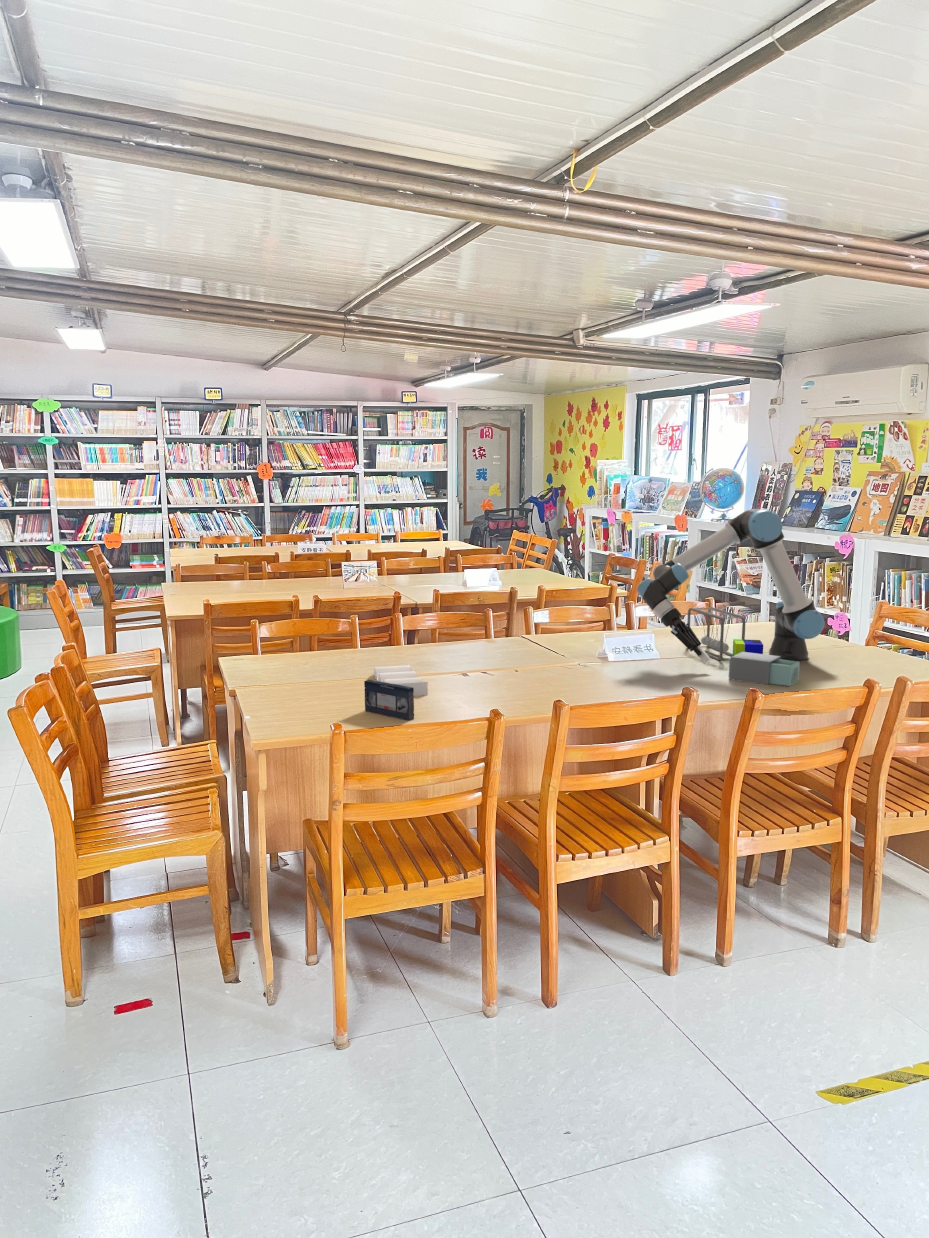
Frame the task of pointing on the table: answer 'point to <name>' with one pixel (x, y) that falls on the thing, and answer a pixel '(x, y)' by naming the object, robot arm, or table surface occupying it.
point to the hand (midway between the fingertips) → (707, 661)
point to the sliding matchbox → (782, 672)
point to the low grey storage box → (751, 667)
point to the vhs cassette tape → (389, 699)
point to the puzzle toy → (747, 646)
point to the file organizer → (402, 678)
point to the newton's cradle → (714, 643)
